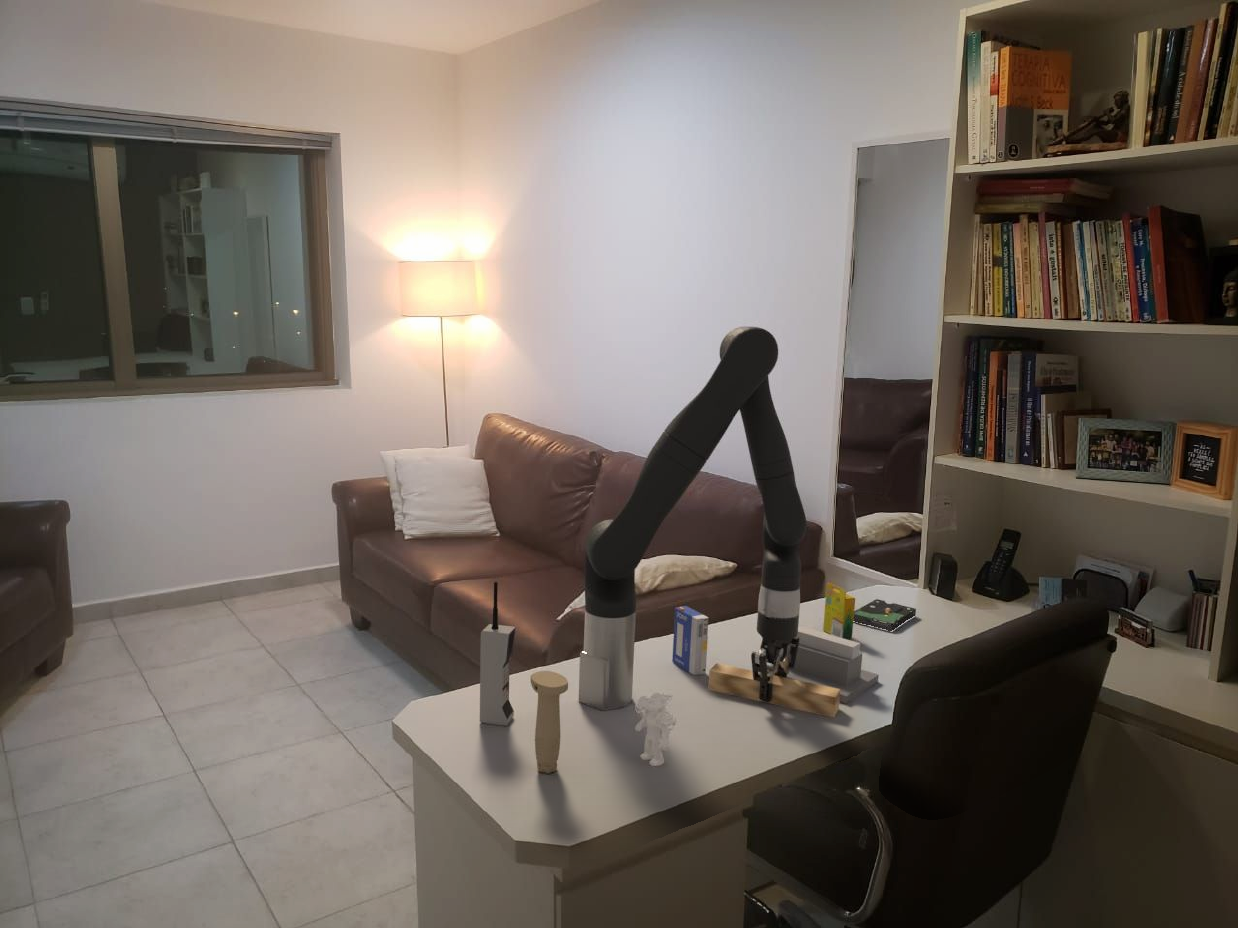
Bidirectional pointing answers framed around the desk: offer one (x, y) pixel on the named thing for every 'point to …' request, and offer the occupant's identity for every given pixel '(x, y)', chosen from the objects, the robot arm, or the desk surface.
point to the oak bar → (776, 690)
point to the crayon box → (838, 612)
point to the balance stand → (830, 664)
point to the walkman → (690, 640)
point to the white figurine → (655, 726)
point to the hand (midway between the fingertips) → (772, 695)
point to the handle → (548, 718)
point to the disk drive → (883, 614)
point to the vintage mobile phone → (495, 670)
